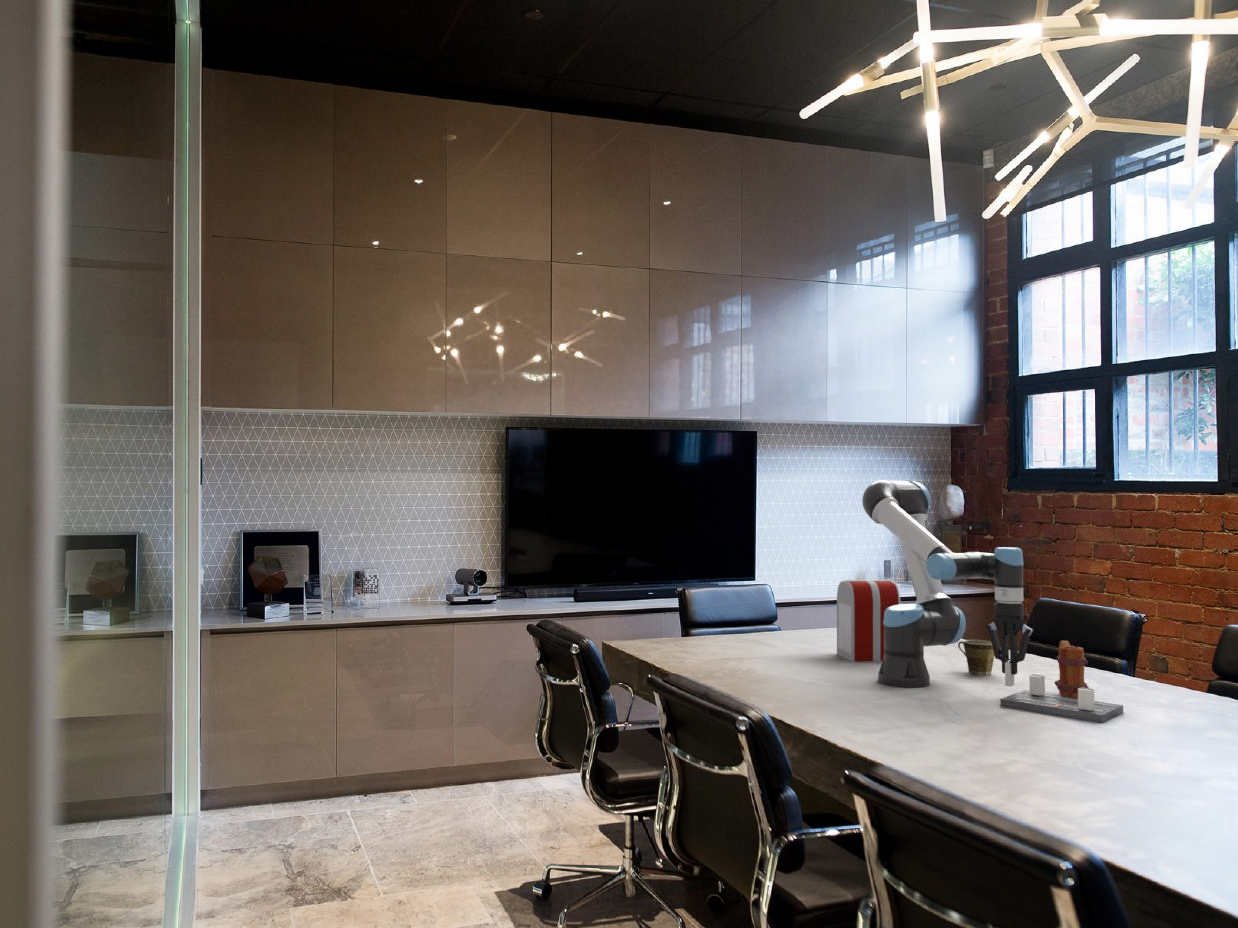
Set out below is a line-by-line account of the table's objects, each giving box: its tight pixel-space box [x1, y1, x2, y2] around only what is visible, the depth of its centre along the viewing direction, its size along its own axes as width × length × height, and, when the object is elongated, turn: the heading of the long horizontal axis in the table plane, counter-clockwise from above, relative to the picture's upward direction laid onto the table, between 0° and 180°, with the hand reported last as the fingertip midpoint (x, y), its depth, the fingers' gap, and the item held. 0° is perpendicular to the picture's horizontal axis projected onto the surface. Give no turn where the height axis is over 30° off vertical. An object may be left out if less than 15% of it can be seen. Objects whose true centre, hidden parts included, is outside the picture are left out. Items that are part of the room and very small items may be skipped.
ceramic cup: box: [957, 639, 995, 676], centre depth 306 cm, size 13×10×10 cm
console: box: [999, 689, 1124, 724], centre depth 255 cm, size 26×16×2 cm, turn 45°
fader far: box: [1028, 673, 1046, 695], centre depth 264 cm, size 3×3×5 cm
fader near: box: [1078, 687, 1095, 710], centre depth 246 cm, size 3×3×5 cm
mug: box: [1054, 640, 1090, 698], centre depth 272 cm, size 15×8×15 cm, turn 168°
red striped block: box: [836, 579, 901, 663], centre depth 334 cm, size 16×18×27 cm
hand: (1009, 685), depth 269 cm, fingers closed
